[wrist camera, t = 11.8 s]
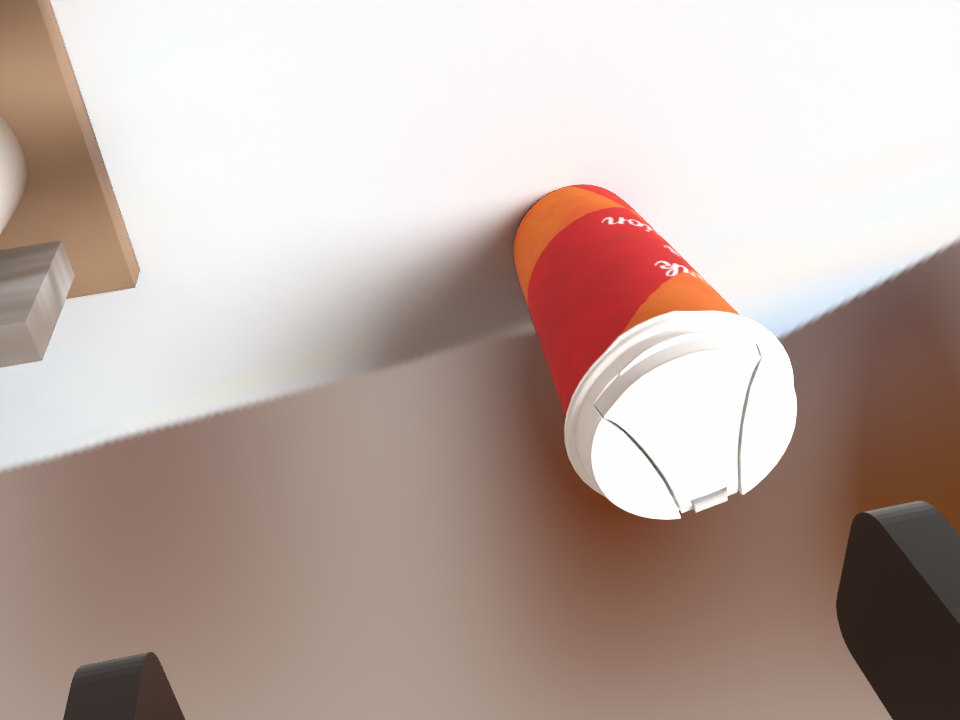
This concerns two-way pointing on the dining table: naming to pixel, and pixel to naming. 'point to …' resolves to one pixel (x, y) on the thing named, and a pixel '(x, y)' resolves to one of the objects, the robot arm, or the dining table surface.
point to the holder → (52, 189)
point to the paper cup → (648, 360)
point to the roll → (10, 173)
